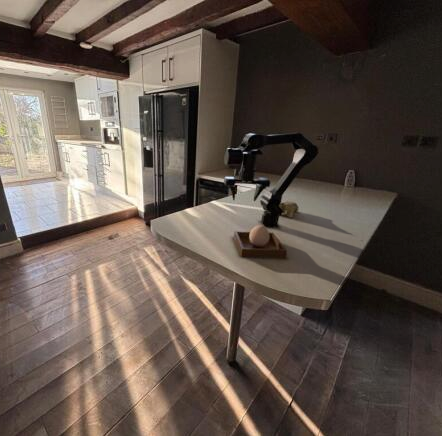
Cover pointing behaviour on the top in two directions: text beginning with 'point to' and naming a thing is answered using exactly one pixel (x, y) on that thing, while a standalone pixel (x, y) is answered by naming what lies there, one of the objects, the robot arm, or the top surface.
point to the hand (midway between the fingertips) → (244, 200)
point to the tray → (249, 250)
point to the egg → (259, 236)
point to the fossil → (289, 208)
